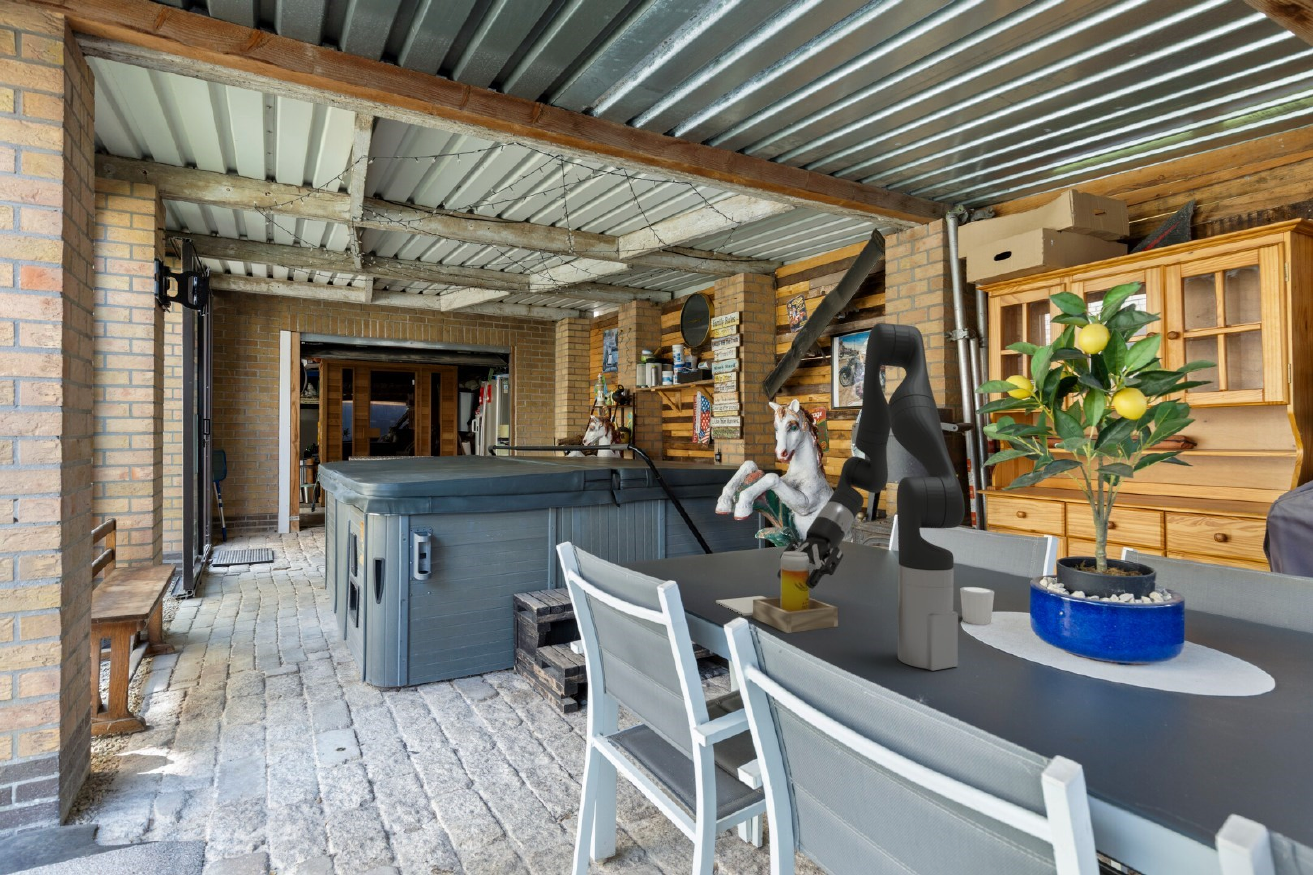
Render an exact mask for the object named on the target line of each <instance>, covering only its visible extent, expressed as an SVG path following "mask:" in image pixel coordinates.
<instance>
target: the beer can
mask: <svg viewBox="0 0 1313 875" xmlns="http://www.w3.org/2000/svg"><path fill="white" fill-rule="evenodd" d="M782 553H783V555H782V557H781V559H780V569H781V580H780V596H779V597H780V609H782V610H785V611H787V612H793V611H802V610H809V598H810V588H809V587H808V586H807V585H806V580H807V579H808V577H809V576H810V563H809V558H808V555H807V553H804V552H797V551H788V552H784V551H783V552H782Z"/></svg>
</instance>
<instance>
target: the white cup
mask: <svg viewBox="0 0 1313 875" xmlns="http://www.w3.org/2000/svg"><path fill="white" fill-rule="evenodd" d="M959 590H960V591H959V592H960V602H961V613H962V621H963V622H965V623H969V624H973V625H978V626H979V625H981V626H984V625H990V624H992V616H993V609H994V608H993V607H994V598H995V590H992V589H989V588H984V587H978V586H964V587H960V589H959Z"/></svg>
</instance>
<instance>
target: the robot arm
mask: <svg viewBox="0 0 1313 875" xmlns="http://www.w3.org/2000/svg"><path fill="white" fill-rule="evenodd" d="M867 337H868V338H867V342H866V350H865V360H864V361H865V363H864V371H863V372H864V373H863V385H862V386H863V387H862V388H863V389H862V404H861V405H862V406H861V412H860V418H859V423H858V427H857V433H856V436H855V437H856V438H855V447H856V449H857V450H858V451H860V452H861V453H863V454H865V455H866V456H867V457H868V459H869V460H868V459H867V458H862V457H860V456H856V455H855V456H851V457H849V458H847V459H846V460H845V461H844V463H843V464H842V467H841V471H840V476H839V480H838V483H837V485H836V488H835V490H834V492H833V494H831V496H830V498H829V500H828V501H827V502H826V504H824V506H823V507H822V508H821V510H820V511H819V513H818V514H817V515H816V517H815V519H814V520H813V521H812V523H811V525H810V526H809V527H808V528H807V531H806V536H805V539H804V540H803V541H802V542H801V541H800V542H799V541H798V540H797V539H795V538H793V539H791V541H790V542H789V544H788V545H787V546H786V548H785V549H784V550H783V552H788V551H797V552H804V553H807V555H808V558H809V564H812V565H815V568H814V569H813V570H812V571H811V573H809V577H808V579H807V580H806V585H807V586H808V587H809V589H814V588H815V587H816V586H818V583H819V582H820V580H821V579H822V577H824V576H826V575H829V576H832V575H834V574H835V572H836V570H837V568H838V566H839V565H840V563H841V561H842V559H843V557H844V553H843V552H842V550H841V549H840V544H841V543H842V541H843V540H844V538H845V536H846V535H847V534H848V531H850V529H851V526H852V524H853V522H854V520H855V519H856V517H857V515H858V513H859V512H860V511H861V509H862V507H863V505H864V502H865V501H864V500H865V499H864V496H863V495H862V494H861V493H860V492H859V491H858V490H857V489H856V488H858V489H861V490H863V491H866V492H869V493H871V494H878V493H880V492H882V491H883V490H884V489H885V487H886V486H887V483H888V479H889V470H888V469H889V468H888V459H887V458H888V456H887V453H888V452H887V449H888V448H887V447H888V441H889V437H890V433H892V435H893V437H894V439H895V440H896V441H897V442H898V443H899V444H900V445H901V447H902V448H903V449H904V450H906V452H908V453H909V454H910V455H911V456H912V457H914V459H915V460H917V461H918V462H919V463H920V465H922V466H923V467H924V469H925V470H926V472H927V473H928V476H905V477H902V478H901V480H899V483H898V485H897V489H896V510H897V511H896V514H897V540H898V541H897V544H898V546H897V547H898V548H897V549H898V577H897V578H898V584H897V586H898V588H897V590H898V593H897V595H898V596H897V597H898V598H897V599H898V600H897V601H898V602H897V603H898V604H897V611H898V612H897V659H898V660H899V661H900V662H901V663H903V664H906V665H908V666H911V667H915V668H920V669H925V670H929V671H937V670H938V671H939V670H944V669H949V668H950V669H951V668H955V667H958V665H959V663H958V660H959V659H958V655H959V654H958V653H959V652H958V650H959V649H958V648H959V646H958V644H959V642H958V641H959V637H958V633H959V613H958V612H957V611H954V564H955V562H954V558H955V557H954V554H953V552H952V551H951V550H949V549H946V548H945V547H942V546H939V545H936V544H933V543H931V542H929V541H927V540H926V539H924V538H923V536H921V530H920V529H953V528H957V527H959V526H960V525H961V524H962V523H963V521H964V518H965V513H966V512H965V509H966V508H965V499H964V493H963V491H962V487H961V484H960V480H959V478H958V475H957V472H956V469H955V467H954V464H953V462H952V459H951V457H950V454H949V452H948V448H947V444H946V441H945V438H944V437H945V436H944V433H943V429H942V424H941V419H940V418H941V417H940V414H939V410H938V407H937V406H938V405H937V403H936V402H937V401H936V399H935V397H934V393H933V390H932V384H931V381H930V377H929V373H928V366H927V358H926V351H925V344H924V338H923V334H922V332H921V331H920V329H919V328H917V327H916V326H912V325H907V324H896V323H888V322H887V323H885V322H878V323H876V324H874V325H873V327H872V328H871V329H870V332H869V335H868V336H867ZM882 366H883V367H895V368H902V369H903V370H904V372H905V376H904V378H903V380H901V382H900V383H899V385H898V386H897V387H896V389H895V390H894V391H893V392H892V395H891V396H890V398H889V400H888V401H887V399H886V396H885V393H884V392H883V387H882V385H881V378H880V376H881V368H882ZM783 552H782V553H781V554H780V556H779V559H780V560H781V557H782V555H783ZM777 578H778V579H779V581H781V568H780V569H779V570H778V572H777Z"/></svg>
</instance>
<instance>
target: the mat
mask: <svg viewBox="0 0 1313 875" xmlns="http://www.w3.org/2000/svg"><path fill="white" fill-rule="evenodd" d="M765 598H767V597H765V596H763V595H757V596H747V597H746V596H745V597H738V598H737V597H736V598H729V599H717V600H715V604H716V605H719V604H720V605H719V606H721V605H722V606H721V607H724V608H726V609H728V608H729V609H728V610H730V609H731V610H730V611H732V610H733V611H732V612H735V613H737V612H738V613H737V614H739V615H741V614H742V615H741V616H742V617H743V616H744V617H746V616H753V600H755V599H765Z"/></svg>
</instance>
